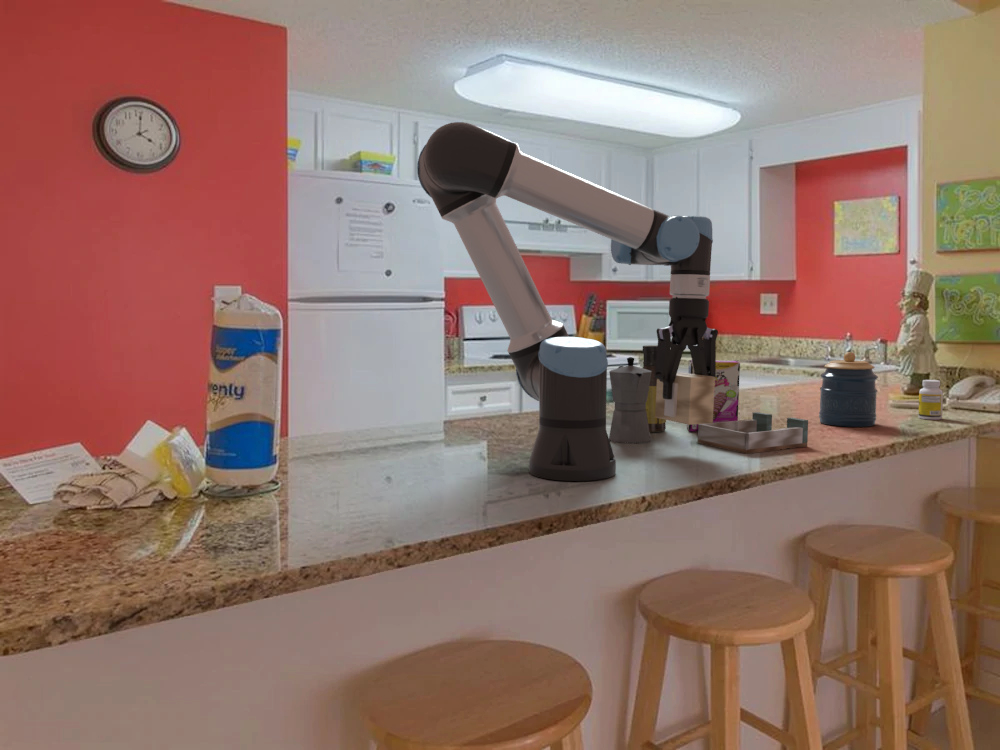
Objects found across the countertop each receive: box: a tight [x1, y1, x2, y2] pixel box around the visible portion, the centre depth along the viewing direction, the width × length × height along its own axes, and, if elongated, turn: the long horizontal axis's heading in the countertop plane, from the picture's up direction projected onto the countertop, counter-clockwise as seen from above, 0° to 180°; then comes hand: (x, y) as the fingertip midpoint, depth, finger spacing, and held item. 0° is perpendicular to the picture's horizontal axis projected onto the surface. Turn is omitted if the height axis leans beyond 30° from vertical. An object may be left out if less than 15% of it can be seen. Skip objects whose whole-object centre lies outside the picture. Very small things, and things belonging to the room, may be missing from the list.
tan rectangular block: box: [655, 372, 715, 425], centre depth 161 cm, size 6×10×9 cm, turn 28°
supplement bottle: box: [918, 379, 944, 421], centre depth 209 cm, size 5×5×10 cm
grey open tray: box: [697, 411, 809, 455], centre depth 171 cm, size 17×14×6 cm
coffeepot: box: [608, 356, 652, 444], centre depth 178 cm, size 15×9×18 cm, turn 8°
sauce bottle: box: [642, 344, 667, 433], centre depth 189 cm, size 6×6×20 cm
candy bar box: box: [686, 359, 741, 433], centre depth 189 cm, size 11×5×16 cm, turn 84°
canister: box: [818, 351, 879, 428], centre depth 200 cm, size 13×13×18 cm
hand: (683, 415), depth 161 cm, fingers closed on tan rectangular block, 6 cm apart
